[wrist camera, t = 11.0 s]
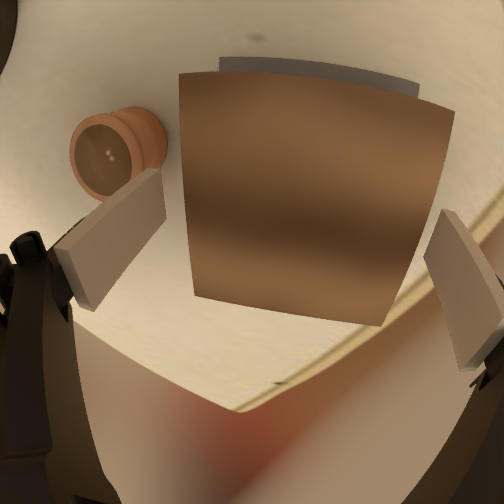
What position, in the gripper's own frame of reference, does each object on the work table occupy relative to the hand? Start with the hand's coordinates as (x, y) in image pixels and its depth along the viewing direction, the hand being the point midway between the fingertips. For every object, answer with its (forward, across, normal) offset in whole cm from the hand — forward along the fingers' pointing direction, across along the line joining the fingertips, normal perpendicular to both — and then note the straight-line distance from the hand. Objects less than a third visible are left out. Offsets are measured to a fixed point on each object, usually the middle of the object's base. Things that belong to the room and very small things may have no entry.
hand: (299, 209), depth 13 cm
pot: (+10, -15, 0) cm, 18 cm away
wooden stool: (+9, 0, 0) cm, 9 cm away
